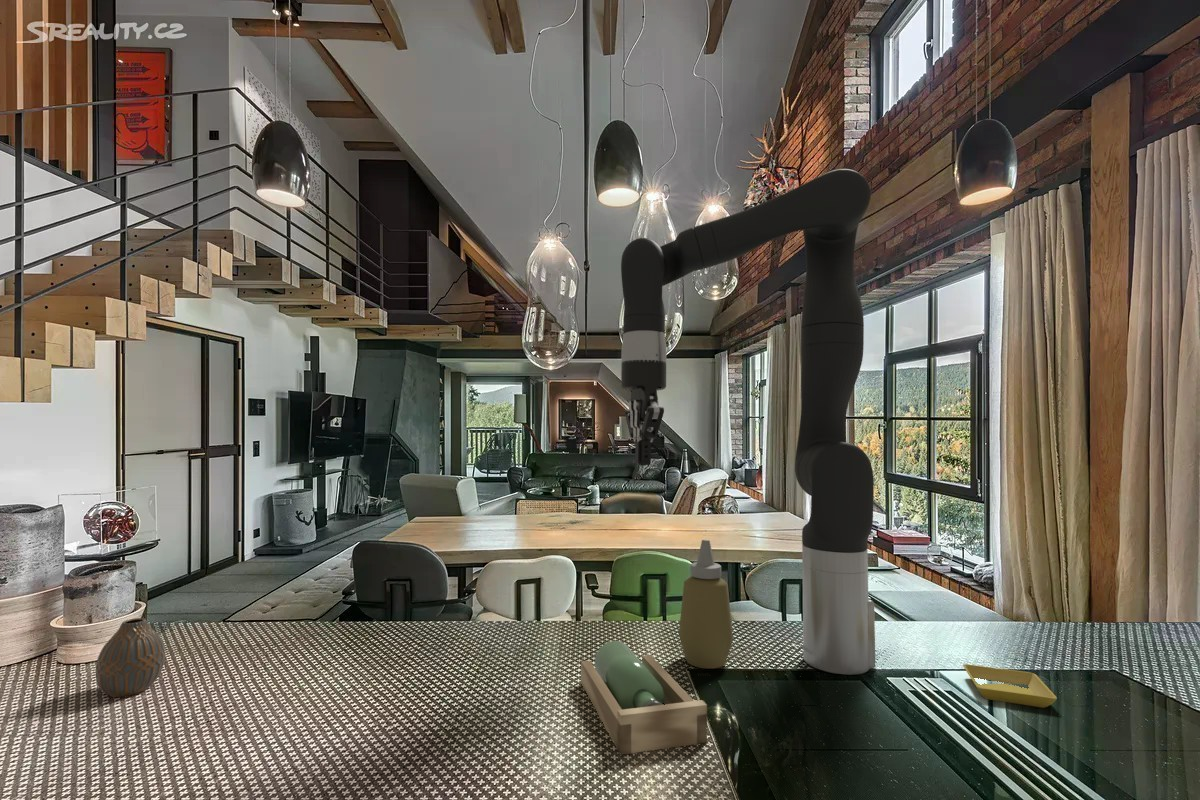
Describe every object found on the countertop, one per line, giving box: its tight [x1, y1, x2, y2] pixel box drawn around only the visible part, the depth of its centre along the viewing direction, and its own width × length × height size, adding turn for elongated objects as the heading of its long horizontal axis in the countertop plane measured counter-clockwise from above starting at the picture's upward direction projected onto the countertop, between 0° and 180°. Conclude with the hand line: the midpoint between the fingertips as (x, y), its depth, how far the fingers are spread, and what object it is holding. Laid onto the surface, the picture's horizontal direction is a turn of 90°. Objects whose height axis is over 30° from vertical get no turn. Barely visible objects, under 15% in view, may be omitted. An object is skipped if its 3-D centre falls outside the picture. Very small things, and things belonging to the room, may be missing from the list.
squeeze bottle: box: [678, 539, 734, 670], centre depth 85 cm, size 8×8×18 cm
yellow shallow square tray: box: [962, 663, 1058, 709], centre depth 76 cm, size 9×9×2 cm
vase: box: [95, 617, 166, 698], centre depth 73 cm, size 7×7×9 cm
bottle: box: [594, 640, 664, 710], centre depth 71 cm, size 5×5×16 cm
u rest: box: [580, 654, 708, 755], centre depth 70 cm, size 10×18×4 cm, turn 16°
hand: (642, 464), depth 94 cm, fingers closed
